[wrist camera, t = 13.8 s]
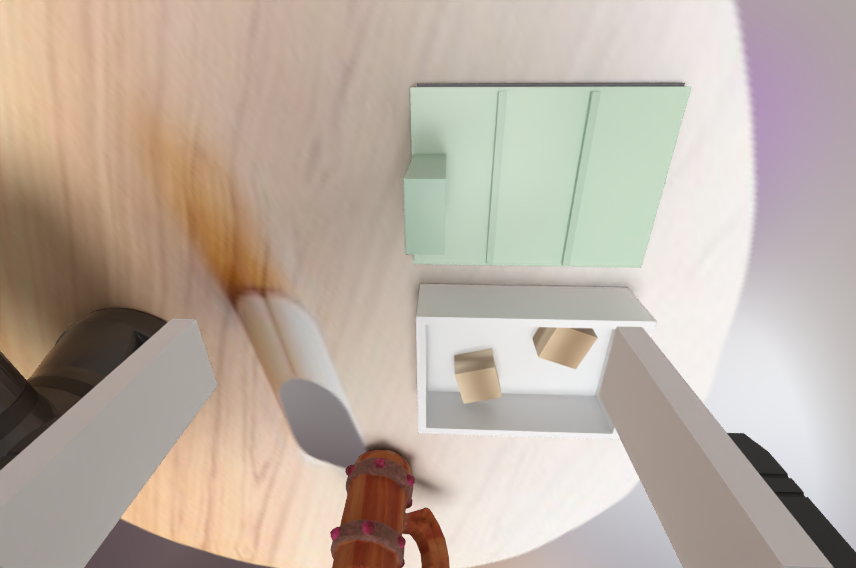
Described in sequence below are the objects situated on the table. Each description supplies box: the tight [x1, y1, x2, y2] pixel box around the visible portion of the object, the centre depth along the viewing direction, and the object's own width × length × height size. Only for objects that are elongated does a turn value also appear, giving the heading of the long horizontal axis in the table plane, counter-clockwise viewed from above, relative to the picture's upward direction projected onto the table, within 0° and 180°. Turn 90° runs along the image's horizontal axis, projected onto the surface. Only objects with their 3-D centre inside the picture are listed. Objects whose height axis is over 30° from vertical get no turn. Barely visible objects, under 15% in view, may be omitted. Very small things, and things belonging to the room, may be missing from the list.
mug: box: [330, 450, 449, 568], centre depth 45 cm, size 15×8×15 cm, turn 55°
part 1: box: [454, 348, 502, 404], centre depth 41 cm, size 4×4×3 cm
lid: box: [403, 86, 691, 268], centre depth 29 cm, size 21×15×10 cm
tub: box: [416, 284, 657, 440], centre depth 39 cm, size 20×14×6 cm
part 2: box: [532, 327, 598, 369], centre depth 38 cm, size 4×4×3 cm
